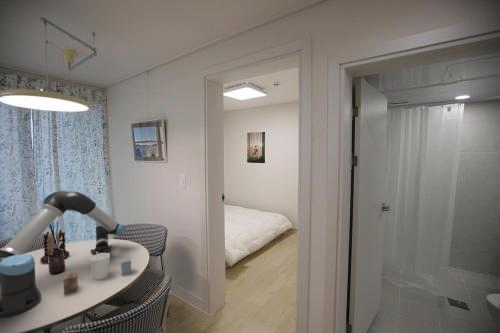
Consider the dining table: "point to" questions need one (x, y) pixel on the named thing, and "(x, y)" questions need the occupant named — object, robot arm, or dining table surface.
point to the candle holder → (100, 265)
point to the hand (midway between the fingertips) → (101, 258)
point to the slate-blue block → (125, 266)
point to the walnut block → (70, 283)
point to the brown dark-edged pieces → (50, 244)
